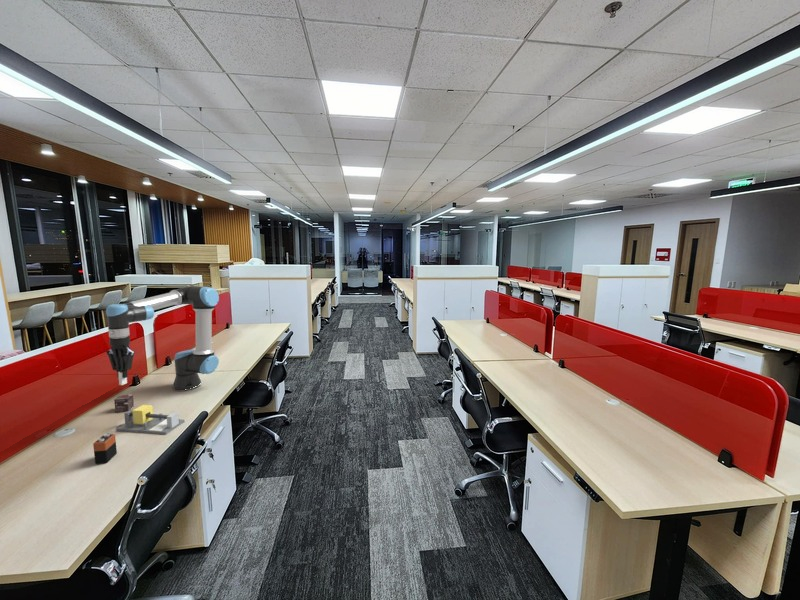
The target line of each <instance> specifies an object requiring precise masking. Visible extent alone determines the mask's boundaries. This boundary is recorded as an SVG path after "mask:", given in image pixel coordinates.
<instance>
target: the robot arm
mask: <svg viewBox="0 0 800 600" xmlns="http://www.w3.org/2000/svg"><path fill="white" fill-rule="evenodd" d="M219 301H220V296H219V293H218V291H217V290H216V289H215V288H213V287H209V286H195V285H190V286H183V287H180V288H177V289H172V290H170V291H169V292H166V293H162V294H158V295H154V296H150V297H146V298H141V299H137V300H134V301H128V302H123V303H112V304H109V305H108V306H107V307H106V309H105V313H106V316H107V317H106V318H107V328H108V337H109V338H108V339H109V340H108V343H109V346H110V349H109V350H106V351H105V352H106V355H107V357H108V358H109V362H110V366H111V369H112V370H113V371H116V373H117V375H116V376H117V378H118V385H119V386H124V385H126V384H128V376H129V375H128V371H129V370H132V367H133V360H134V355H135V353H136V351H135V350H131V348H130V344H131V338H130V323H135V322H143V321H148V320H152V318H154V316H155V311H157V310H160V309H164V308H167V307H171V306H180V305H181V306H182V305H191V306H192V310H193V311H194V312H195V349H187V350H183V351H179V352H177V353H175V355H174V367H175V368H174V369H175V370H174V371H175V379H174V381H173V384H172V389H173V388H174V389H175V390H174V389H173V390H174V391H177V390H185V389H190V388H193V387H195V386H198V385H199V384H200V383H201V384H202V380H201V378H200V376H199V374H201V375H209V374H212V373H214V372H215V370H216V369H217V368H218V366H219V362H220V361H219V357H218V356H216V354H215V350H214V349H212V348H213V347H212V345H213V343H212V342H213V339H212V338H213V337H212V336H213V335H212V333H213V331H212V329H213V327H212V325H213V320H212V319H213V318H212V317H213V316H212V315H213V314H212V313H213V311H214V310H215V306H216V305H218V303H219ZM185 391H186V390H185Z"/></svg>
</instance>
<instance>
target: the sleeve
mask: <svg viewBox="0 0 800 600" xmlns="http://www.w3.org/2000/svg"><path fill="white" fill-rule="evenodd" d="M132 410H133V422H134V424H143V423H147V422H148V421H150V420H152V419H153V418H147V417H146V415H145V414H154V407H153V405H150V404H142V405H140V406H138V407H136V408H135V409H132Z"/></svg>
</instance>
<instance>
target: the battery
mask: <svg viewBox="0 0 800 600" xmlns="http://www.w3.org/2000/svg"><path fill="white" fill-rule="evenodd" d="M92 446H93V454H94V463H95V465H99V464H107V463H109V462H110V461H111V460H112V459H113V458H114V457H115V456H116V455H117V453H118V451H117V439H116V434H115V433H112V434H111V433H110V432H106V433H104V434H103V435H102V436H100V437H99V438H98V439H97V440H95V442H94V443H93V444H92Z"/></svg>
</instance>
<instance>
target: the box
mask: <svg viewBox="0 0 800 600" xmlns="http://www.w3.org/2000/svg"><path fill="white" fill-rule="evenodd" d="M134 405H135V404H134V394H121V395H118V396H117V397H116V398H115V399H114V412H115V413H125V412H127V411H129V410H132V409H133V408H134ZM132 407H133V408H132ZM131 408H132V409H131Z"/></svg>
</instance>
